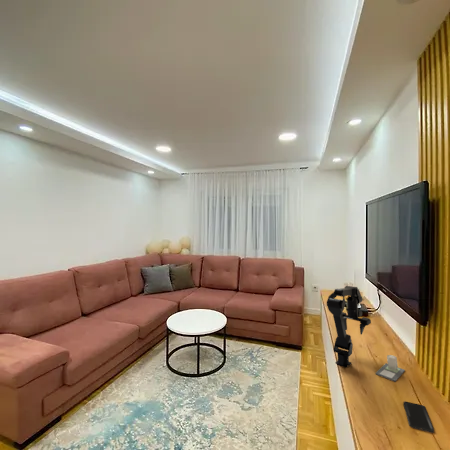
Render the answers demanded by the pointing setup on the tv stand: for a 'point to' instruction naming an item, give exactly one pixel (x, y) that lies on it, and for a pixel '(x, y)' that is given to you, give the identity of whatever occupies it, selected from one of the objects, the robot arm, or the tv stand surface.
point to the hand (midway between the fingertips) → (353, 332)
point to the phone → (418, 417)
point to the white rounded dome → (392, 362)
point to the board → (389, 373)
